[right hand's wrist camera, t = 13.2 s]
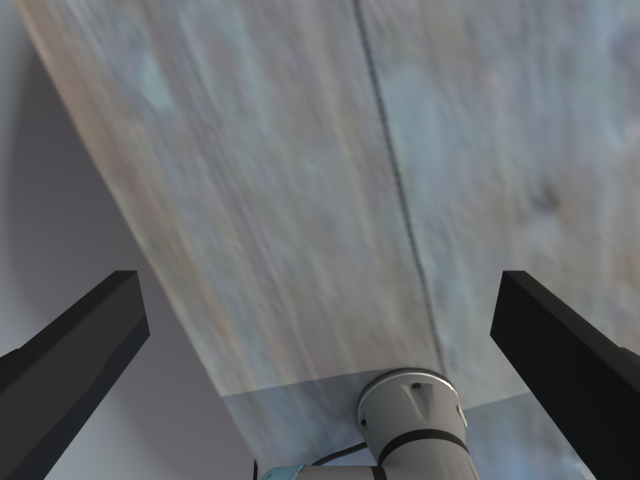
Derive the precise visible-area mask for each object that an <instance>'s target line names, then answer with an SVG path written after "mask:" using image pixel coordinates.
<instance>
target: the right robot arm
mask: <svg viewBox="0 0 640 480" xmlns="http://www.w3.org/2000/svg"><path fill="white" fill-rule="evenodd" d="M149 336H150V331H149V327H148V322H147V317H146V312H145V308H144V303H143V298H142V293H141V288H140V283H139V279H138V274H137V271H114V272H113V273H112V274H111V275H109V276H108V277H107V278H106V279H105V280H103V281H102V282H101V283H100V284H98V285H97V286H96V287H95V288H93V289H92V290H91V291H90V292H89V293H87V294H86V295H85V296H84V297H82V298H81V299H80V300H79V301H77V302H76V303H75V304H74V305H72V306H71V307H70V308H69V309H68V310H66V311H65V312H64V313H63V314H61V315H60V316H59V317H58V318H56V319H55V320H54V321H53V322H52V323H50V324H49V325H48V326H47V327H45V328H44V329H43V330H42V331H40V332H39V333H38V334H37V335H35V336H34V337H33V338H32V339H31V340H29V341H28V342H27V343H26V344H24V345H23V346H22V347H21V348H19V349H15V350H13V351H11V352H10V353H8V354H6V355H4V356H2V357H0V480H44V478H45V477H46V475H47V474H48V473H49V472H50V470H51V469H52V467H53V466H54V465H55V463H56V462H57V461H58V459H59V458H60V457H61V455H62V454H63V453H64V451H65V450H66V448H67V447H68V446H69V444H70V443H71V442H72V440H73V439H74V438H75V436H76V435H77V434H78V432H79V431H80V429H81V428H82V427H83V425H84V424H85V423H86V421H87V420H88V419H89V417H90V416H91V415H92V413H93V412H94V410H95V409H96V408H97V406H98V405H99V404H100V402H101V401H102V400H103V398H104V397H105V396H106V394H107V393H108V392H109V390H110V389H111V387H112V386H113V385H114V383H115V382H116V381H117V379H118V378H119V377H120V375H121V374H122V373H123V371H124V370H125V368H126V367H127V366H128V364H129V363H130V362H131V360H132V359H133V358H134V356H135V355H136V354H137V352H138V351H139V350H140V348H141V347H142V345H143V344H144V343H145V341H146V340H147V339H148V337H149ZM490 336H491V337H492V339H493V340H494V341H495V343H496V344H497V345H498V347H499V348H500V350H501V351H502V352H503V354H504V355H505V356H506V358H507V359H508V360H509V362H510V363H511V364H512V366H513V367H514V368H515V370H516V371H517V373H518V374H519V375H520V377H521V378H522V379H523V381H524V382H525V383H526V385H527V386H528V387H529V389H530V390H531V392H532V393H533V394H534V396H535V397H536V398H537V400H538V401H539V402H540V404H541V405H542V406H543V408H544V409H545V411H546V412H547V413H548V415H549V416H550V417H551V419H552V420H553V421H554V423H555V424H556V425H557V427H558V428H559V430H560V431H561V432H562V434H563V435H564V436H565V438H566V439H567V440H568V442H569V443H570V444H571V446H572V447H573V448H574V450H575V451H576V453H577V454H578V455H579V457H580V458H581V459H582V461H583V462H584V463H585V465H586V466H587V467H588V469H589V470H590V472H591V473H592V474H593V476H594V477H595V478H596V480H640V356H639V355H637V354H635V353H633V352H631V351H630V350H628V349H626V348H619V347H618V346H617V345H616V344H614V343H613V342H612V341H611V340H609V339H608V338H607V337H606V336H605V335H603V334H602V333H601V332H600V331H598V330H597V329H596V328H595V327H593V326H592V325H591V324H590V323H588V322H587V321H586V320H585V319H584V318H582V317H581V316H580V315H579V314H577V313H576V312H575V311H574V310H572V309H571V308H570V307H569V306H568V305H566V304H565V303H564V302H563V301H561V300H560V299H559V298H558V297H556V296H555V295H554V294H553V293H551V292H550V291H549V290H548V289H547V288H545V287H544V286H543V285H542V284H540V283H539V282H538V281H537V280H535V279H534V278H533V277H532V276H531V275H529V274H528V273H527V272H526V271H503V274H502V279H501V283H500V288H499V293H498V298H497V303H496V307H495V312H494V317H493V322H492V327H491V331H490ZM357 417H358V424H359V427H360V431H361V433H362V436H363V438H364V439H365V441H366V442H363V443H361V444H358V445H356V446H353V447H350V448H348V449H345V450H342V451H339V452H336V453H333V454H331V455H328V456H326V457H324V458H322V459H320V460H318V461H316V462H315V463H313V464H312V465H311V466H307V464H301V465H299V466H287V467H275V468H273V469H271V470H269V471H268V472H267V473H266V474H265V475H264V476H263V478H262V480H481V479H480V477H479V475H478V472H477V470H476V468H475V466H474V463H473V461H472V459H471V457H470V454H469V452H468V450H467V447H466V442H465V428H464V423H465V425H466V427H467V422H466V420H465V417H464V415H463V408H462V404H461V400H460V398H459V396H458V394H457V392H456V390H455V388H454V386H453V385H452V384H451V383H450V382H449V381H448V380H447V379H446V378H445V377H443V376H442V375H440V374H438V373H435V372H433V371H430V370H426V369H420V368H405V369H399V370H395V371H391V372H388V373H386V374H384V375H382V376H380V377H378V378H377V379H375V380H374V381H372V382H371V383H370V384H369V385H368V386H367V387H366V388H365V389H364V391H363V392H362V394H361V396H360V398H359V400H358V404H357ZM367 447H369V449H370V451H371V453H372V455H373V457H374V459H375V461H376V463H377V465H378V466H321V465H323V464H325V463H327V462H329V461H331V460H333V459H336V458H339V457H342V456H345V455H348V454H351V453H354V452H356V451H359V450H361V449H364V448H367ZM257 476H258V464H257V462H256V460H255V457H254V471H253V480H257Z"/></svg>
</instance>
